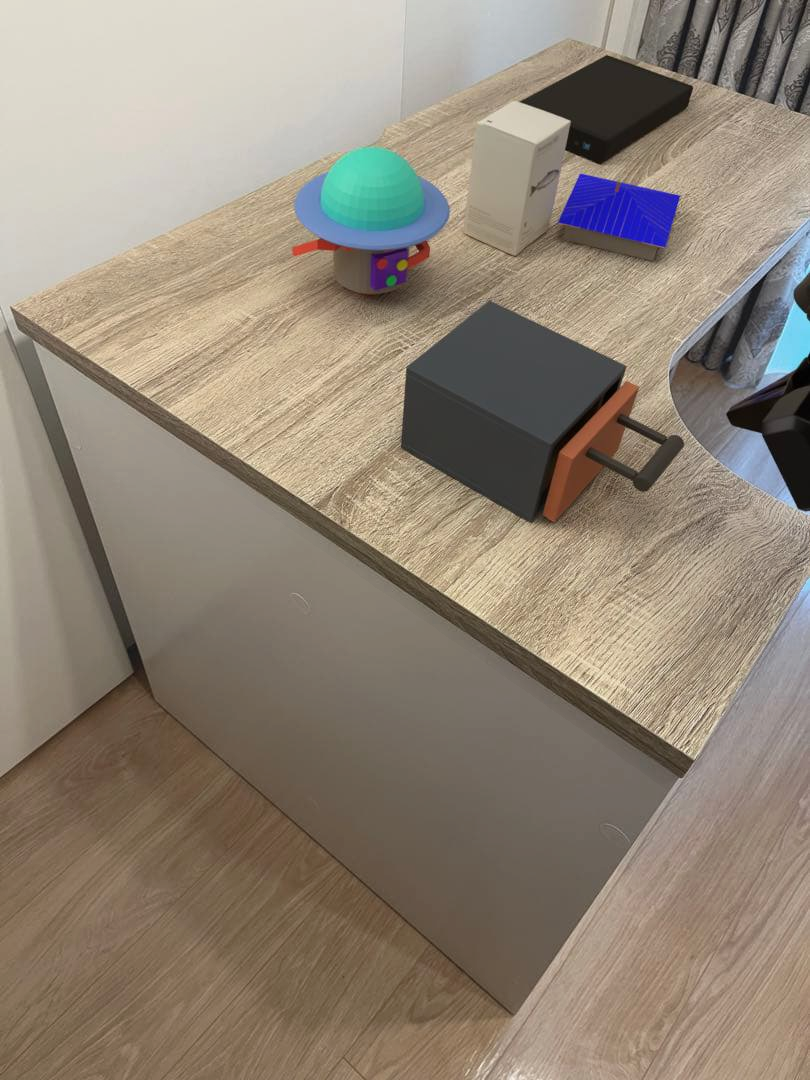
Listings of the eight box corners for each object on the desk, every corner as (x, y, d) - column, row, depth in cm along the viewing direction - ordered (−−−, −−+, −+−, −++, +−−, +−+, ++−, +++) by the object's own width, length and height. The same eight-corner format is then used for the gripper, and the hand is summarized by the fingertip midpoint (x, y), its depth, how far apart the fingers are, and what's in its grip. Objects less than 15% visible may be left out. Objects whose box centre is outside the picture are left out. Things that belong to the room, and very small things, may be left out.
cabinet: (601, 445, 76) (627, 365, 69) (531, 523, 70) (551, 444, 63) (477, 380, 81) (489, 299, 74) (400, 448, 75) (406, 367, 68)
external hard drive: (687, 108, 121) (693, 86, 119) (600, 165, 109) (606, 141, 107) (600, 76, 126) (605, 54, 124) (509, 126, 115) (513, 103, 112)
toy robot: (399, 233, 96) (405, 104, 86) (468, 306, 88) (486, 174, 78) (274, 264, 91) (265, 131, 80) (336, 344, 83) (335, 209, 72)
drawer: (675, 480, 73) (702, 417, 67) (615, 557, 67) (639, 494, 62) (498, 389, 79) (510, 324, 74) (430, 451, 73) (437, 386, 68)
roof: (576, 191, 105) (585, 147, 100) (674, 214, 102) (688, 170, 98) (553, 241, 97) (563, 196, 93) (659, 266, 95) (673, 221, 91)
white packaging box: (516, 258, 95) (536, 144, 85) (460, 233, 97) (474, 120, 87) (550, 231, 98) (573, 119, 89) (496, 208, 101) (513, 97, 91)
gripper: (979, 155, 50) (735, 255, 62) (878, 298, 40) (611, 384, 52) (1041, 323, 53) (797, 387, 65) (961, 495, 43) (691, 532, 55)
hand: (730, 416), depth 59 cm, fingers closed
